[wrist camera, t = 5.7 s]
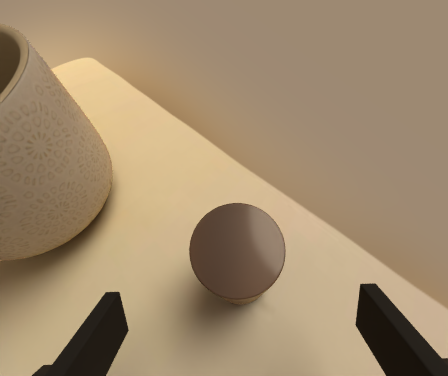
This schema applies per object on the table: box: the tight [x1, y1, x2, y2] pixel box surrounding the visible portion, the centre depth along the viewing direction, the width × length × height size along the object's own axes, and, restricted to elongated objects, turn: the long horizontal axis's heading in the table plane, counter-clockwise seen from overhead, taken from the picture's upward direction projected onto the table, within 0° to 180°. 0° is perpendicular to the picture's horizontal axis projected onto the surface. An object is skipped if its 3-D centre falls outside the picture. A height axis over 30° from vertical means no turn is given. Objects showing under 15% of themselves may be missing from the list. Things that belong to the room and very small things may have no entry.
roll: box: [189, 203, 285, 304], centre depth 17 cm, size 6×6×10 cm
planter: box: [0, 24, 113, 261], centre depth 21 cm, size 17×17×15 cm
